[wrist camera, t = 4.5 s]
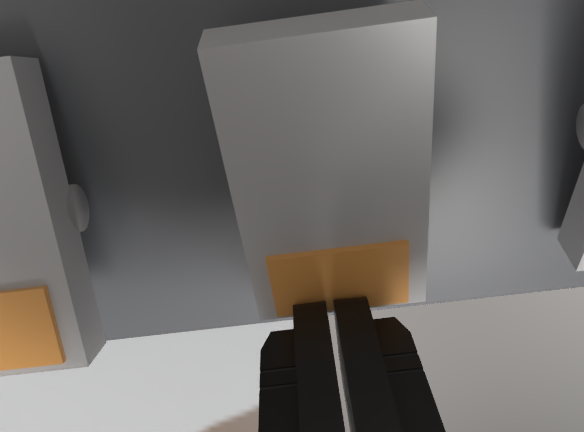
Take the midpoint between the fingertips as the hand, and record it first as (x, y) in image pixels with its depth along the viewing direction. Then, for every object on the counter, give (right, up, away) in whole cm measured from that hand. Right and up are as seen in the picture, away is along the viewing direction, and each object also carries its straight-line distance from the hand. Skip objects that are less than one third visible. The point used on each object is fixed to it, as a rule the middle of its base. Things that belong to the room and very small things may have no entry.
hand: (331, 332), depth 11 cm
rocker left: (-7, +3, 0) cm, 8 cm away
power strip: (+4, +6, +2) cm, 8 cm away
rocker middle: (0, +4, 0) cm, 4 cm away
